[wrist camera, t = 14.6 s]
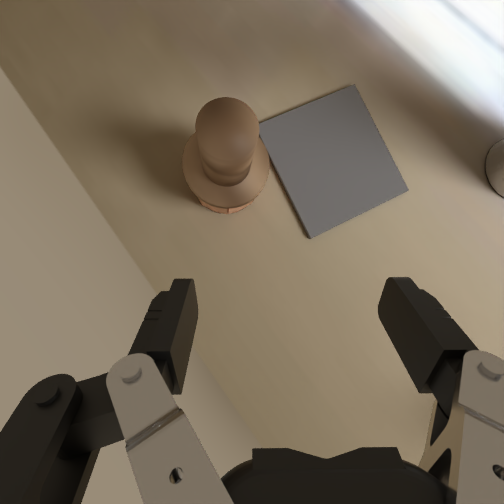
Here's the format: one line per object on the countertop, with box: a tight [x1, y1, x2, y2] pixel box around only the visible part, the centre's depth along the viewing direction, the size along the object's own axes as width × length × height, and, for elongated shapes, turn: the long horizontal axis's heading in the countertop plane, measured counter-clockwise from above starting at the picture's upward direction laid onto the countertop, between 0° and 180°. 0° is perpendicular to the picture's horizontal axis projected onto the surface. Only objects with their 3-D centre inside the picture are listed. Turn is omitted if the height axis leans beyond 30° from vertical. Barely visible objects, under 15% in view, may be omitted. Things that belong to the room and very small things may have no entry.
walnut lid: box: [182, 97, 270, 209], centre depth 25 cm, size 9×9×8 cm
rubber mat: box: [259, 84, 409, 239], centre depth 36 cm, size 15×16×1 cm
